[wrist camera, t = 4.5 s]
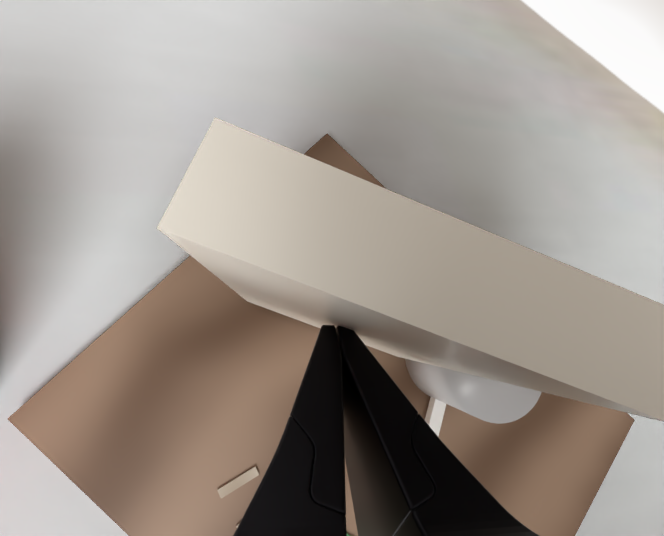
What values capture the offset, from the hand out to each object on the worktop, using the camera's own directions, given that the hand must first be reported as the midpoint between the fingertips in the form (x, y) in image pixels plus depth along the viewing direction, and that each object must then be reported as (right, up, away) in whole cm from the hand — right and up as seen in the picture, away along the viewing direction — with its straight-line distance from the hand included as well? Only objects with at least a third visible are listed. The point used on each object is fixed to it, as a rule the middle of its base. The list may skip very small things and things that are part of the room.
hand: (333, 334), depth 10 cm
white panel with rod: (0, -6, +5) cm, 8 cm away
